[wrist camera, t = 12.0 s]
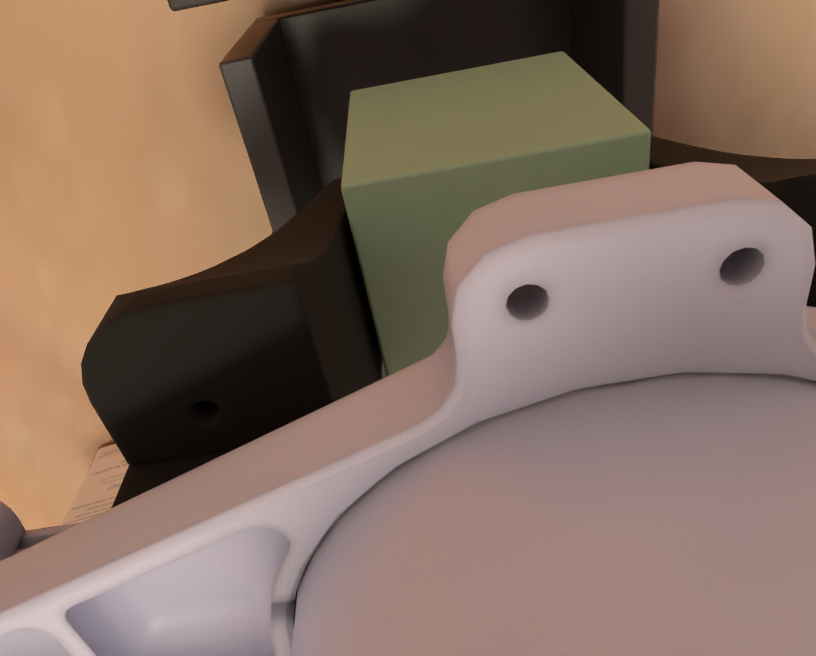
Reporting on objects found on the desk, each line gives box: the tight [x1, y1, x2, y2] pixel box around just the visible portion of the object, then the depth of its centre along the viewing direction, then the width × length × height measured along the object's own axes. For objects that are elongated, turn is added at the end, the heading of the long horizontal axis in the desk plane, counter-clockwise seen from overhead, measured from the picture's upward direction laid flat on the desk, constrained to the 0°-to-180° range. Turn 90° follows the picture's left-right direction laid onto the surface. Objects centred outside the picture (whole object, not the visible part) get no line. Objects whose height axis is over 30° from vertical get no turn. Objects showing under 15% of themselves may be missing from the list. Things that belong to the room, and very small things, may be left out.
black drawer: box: [168, 0, 659, 233], centre depth 18 cm, size 17×11×6 cm, turn 10°
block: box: [341, 51, 651, 376], centre depth 12 cm, size 4×4×5 cm
